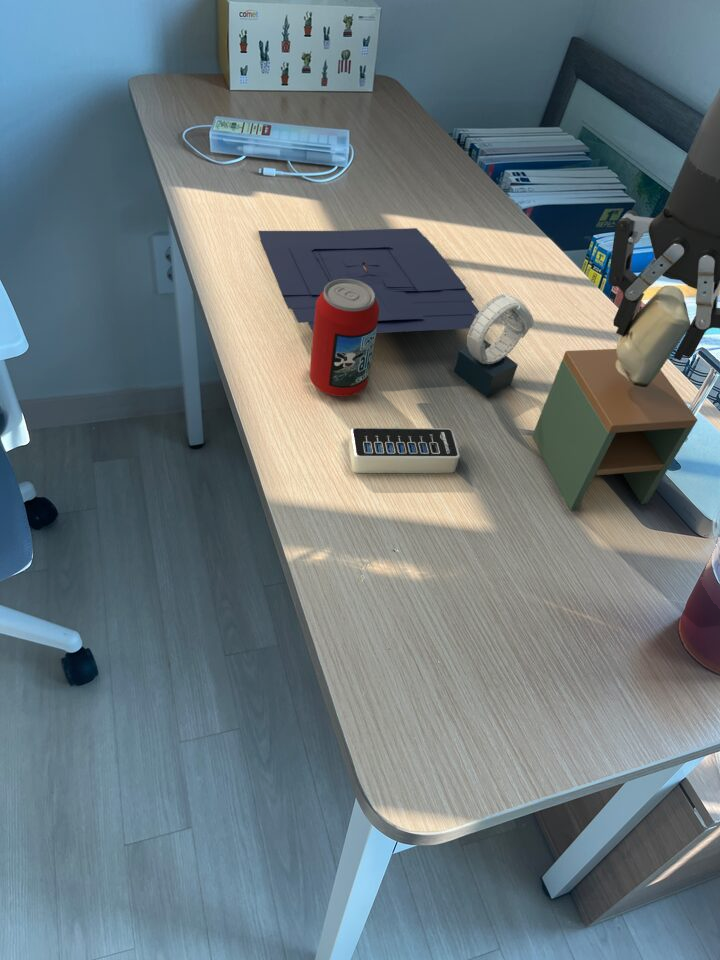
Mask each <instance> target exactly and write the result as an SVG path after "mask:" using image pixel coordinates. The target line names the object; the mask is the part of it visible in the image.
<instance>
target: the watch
mask: <svg viewBox="0 0 720 960" xmlns="http://www.w3.org/2000/svg"><path fill="white" fill-rule="evenodd" d="M474 318H475V319H474V321H473V323H472V325H471V327H470V329H469V331H468V334H467V335H466V346H467V347H465V348H463V349H460V350H459V351H458V354H457V359H456V362H455V366H454V369H453V373H454V374H455V375H457V376H458V377H460V378H461V379H462V380H464V381H465V382H466V383H467V384H468V385H470V386H471V387H472V388H474V389H475V390H476V391H477V392H478V393H480V394H481V395H482V396H484V397H485V398H489V397H490V396H492V395H494V394H496V393H498V392H500V391H502V390H504V389H506V388H508V387H510V386H511V385H512V382H513V380H514V377H515V375H516V371H517V369H518V366H519V364H518V363H517V362H516V361H514V360H512V359H511V358H510V357H508V355H509V354H510V353H511V352H512V351H513V350H514V348H515V347H516V346H517V345H518V343H519V341H520V340H521V339H523V338H524V337H525V336H526V334H527V333H528V332H529V330H530V329H531V328H533V326H534V324H535V320H534V317H533V315H532V313H531V311H530V309H528V308H527V306H526V304H524V303H523V302H522V301H521V300H520V299H519V298H518V297H516V296H515V295H512V294H510V293H499V294H498V295H497V296H495V297H493V298H491V299H490V300H489V301H488V302H487V303H486V304H484V305H483V307H482V308H481V309H480V310H479V313H478V314H476V316H475V317H474ZM499 318H500V319H501V320H502V321H501V322H502V325H503V326H504V328H503V331H502V332H501V333H500V334H499V337H497V339H496V340H495V341H494V342H493V343H492V344H491V343H490V342H489V341H487V340H486V339H485V338H486V336H487V335H486V334H487V333H488V331H489V330H490V328H491V327H492V326H493V325H494V324H495V322H496V321H497V320H499Z"/></svg>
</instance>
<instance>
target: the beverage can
mask: <svg viewBox="0 0 720 960" xmlns="http://www.w3.org/2000/svg"><path fill="white" fill-rule="evenodd" d="M378 317H379V306H378V303H377V301H376V299H375V293H374V291H373V290H372V288H371V287H369V286H368V285H367V284H365V283H363V282H360V281H357V280H353V279H338V280H334V281H332V282H330V283H328V284H327V285H326V286H325V288H324V291H323V292H322V293H321V295H320V296H319V297H318V299H317V301H316V309H315V319H314V329H313V332H312V341H311V353H310V366H309V378H310V382H311V383H312V384H313V386H314V387H315V388H317V389H318V390H319V391H321V392H322V393H324V394H326V395H330V396H334V397H350V396H354V395H356V394H358V393H361V392H362V391H364V390H365V388H366V387H367V385H368V381H369V376H370V370H371V365H372V359H373V355H374V348H375V343H376V342H375V341H376V336H377V333H376V330H377V323H378Z"/></svg>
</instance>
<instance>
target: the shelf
mask: <svg viewBox="0 0 720 960" xmlns="http://www.w3.org/2000/svg"><path fill="white" fill-rule="evenodd" d="M617 360H618V357H617V348H604V349H603V348H601V349H580V350H578V349H577V350H565V352H564V354H563V357H562V359H561V362H560V364H559V367H558V369H557V372H556V374H555V378H554V380H553V382H552V384H551V387H550V390H549V393H548V395H547V397H546V400H545V403H544V405H543V407H542V409H541V413H540V414H539V417H538V420H537V423H536V425H535V426H534V427H535V428H534V430H533V433H532V435H531V437H532V439H533V441H534V443H535V445H536V447H537V449H538V451H539V453H540V455H541V457H542V459H543V460H544V463H545V464H546V467H547V468H548V470H549V472H550V474H551V476H552V478H553V480H554V481H555V484H556V486H557V488H558V489H559V491H560V493H561V495H562V497H563V499H564V501H565V503H566V506H567V507H568V508H569V511H578V509H579V507H580V505H581V503H582V501H583V500H584V497H585V495H586V493H587V491H588V489H589V488H590V485H591V483H592V481H593V479H594V477H595V476H604V475H616V474H617V475H618V474H622V475H623V476H624V478H625V480H626V482H627V483H628V485H629V487H630V489H631V490H632V491H633V493H634V495H635V496H636V498H637V500H638V501H639V504H641V505H643V504H648V503H649V501H650V500H651V498H652V496H653V494H654V493H655V492H656V490H657V488H658V486H659V485H660V483H661V481H662V480H663V478H664V477H665V475H666V473H667V472H668V470H669V468H670V466H671V465H672V463H673V462H674V460H675V458H676V457H677V455H678V454H679V452H680V450H681V449H682V447H683V445H684V443H685V442H686V440H687V438H688V437H689V436H690V434H691V432H692V430H693V429H694V427H695V425H696V424H697V422H698V418H697V417H696V416H695V414H694V413H693V412H692V410H691V409H690V407H689V406H688V405H687V404H686V402H685V401H684V399H683V397H682V396H681V395H680V394H679V392H678V391H677V390H676V388H675V387H674V386H673V385H672V383H671V381H670V380H669V379H668V377H667V376H666V375H665V374H664V372H663V371H662V369H661V370H660V371H659V373H658V374H657V375H656V376H655V378H654V379H653V380H652V381H651V382H650V383H649V385H648V386H647V387H640V386H636V385H633V384H632V383H630V382H629V381H628V380H627V378H626V377H625V376H624V375H622V374H621V373H620V372H618V370H617V368H616V361H617Z"/></svg>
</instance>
